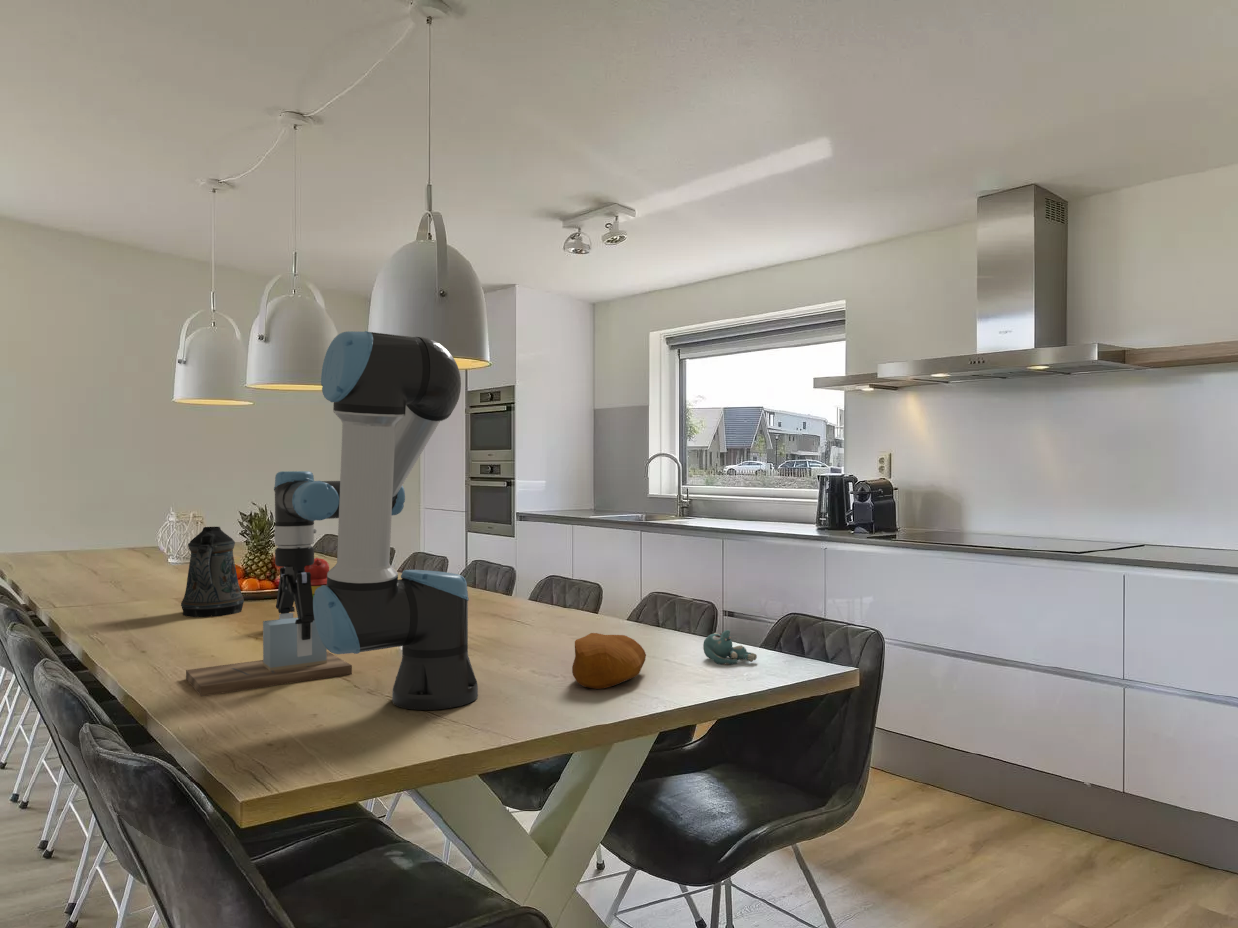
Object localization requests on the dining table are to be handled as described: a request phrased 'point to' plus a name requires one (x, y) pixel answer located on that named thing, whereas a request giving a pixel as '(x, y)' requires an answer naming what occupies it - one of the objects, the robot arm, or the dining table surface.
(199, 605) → the beer stein
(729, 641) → the stuffed animal
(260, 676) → the board
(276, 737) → the dining table surface
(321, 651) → the sanding block
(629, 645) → the bread
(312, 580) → the stacking bear
